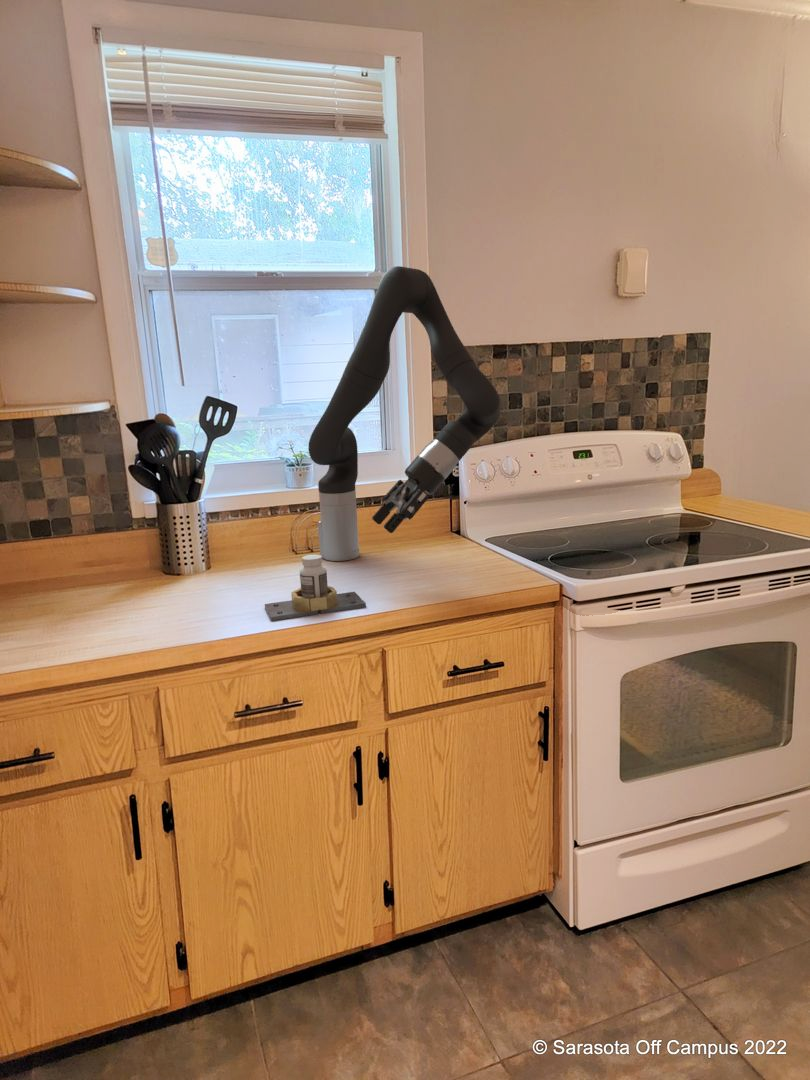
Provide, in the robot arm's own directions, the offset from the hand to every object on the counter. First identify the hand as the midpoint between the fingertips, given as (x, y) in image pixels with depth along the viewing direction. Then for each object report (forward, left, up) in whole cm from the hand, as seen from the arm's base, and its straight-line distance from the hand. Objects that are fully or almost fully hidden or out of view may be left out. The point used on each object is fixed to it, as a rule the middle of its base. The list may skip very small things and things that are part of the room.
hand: (381, 526), depth 149 cm
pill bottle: (-9, -12, -14) cm, 21 cm away
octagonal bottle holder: (-9, -12, -15) cm, 21 cm away
